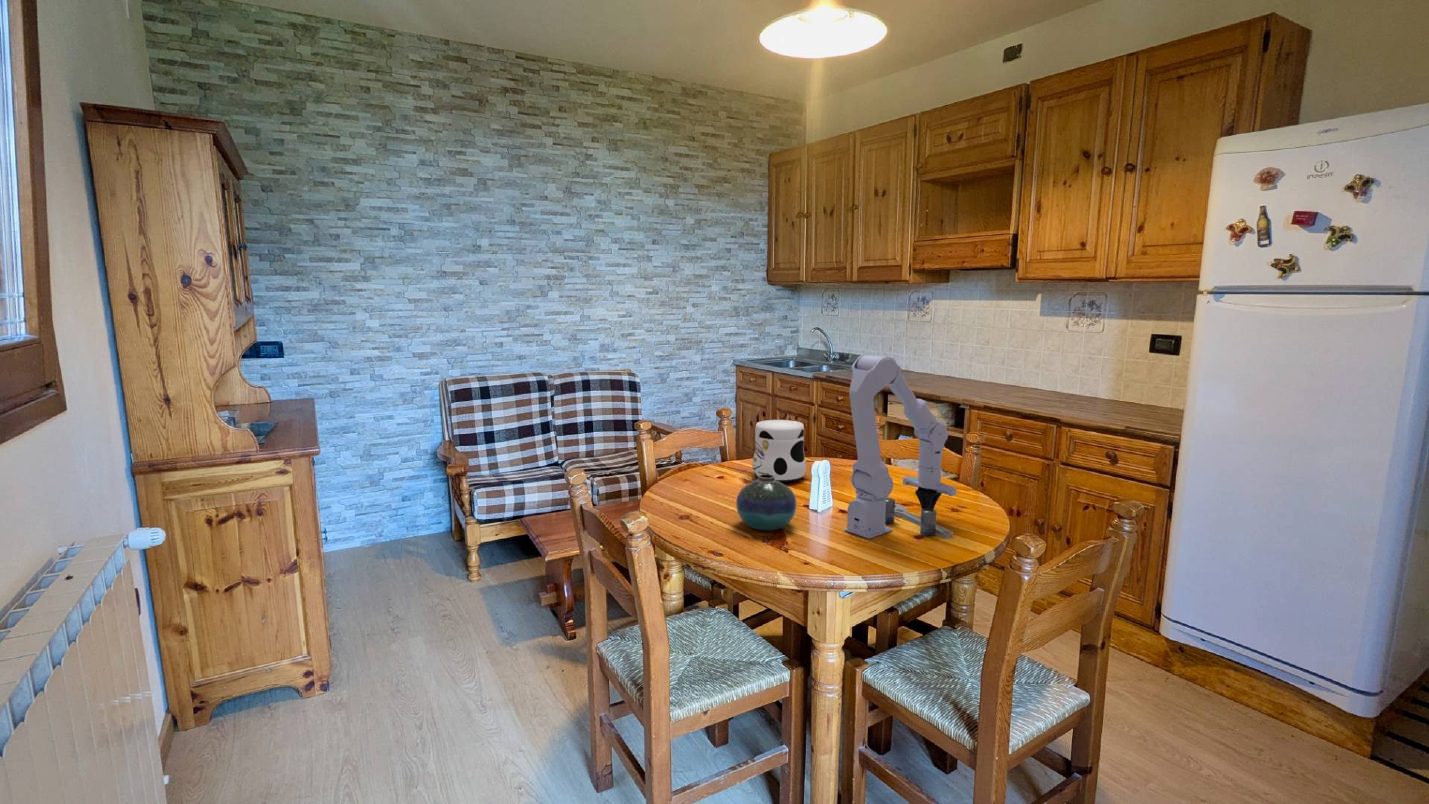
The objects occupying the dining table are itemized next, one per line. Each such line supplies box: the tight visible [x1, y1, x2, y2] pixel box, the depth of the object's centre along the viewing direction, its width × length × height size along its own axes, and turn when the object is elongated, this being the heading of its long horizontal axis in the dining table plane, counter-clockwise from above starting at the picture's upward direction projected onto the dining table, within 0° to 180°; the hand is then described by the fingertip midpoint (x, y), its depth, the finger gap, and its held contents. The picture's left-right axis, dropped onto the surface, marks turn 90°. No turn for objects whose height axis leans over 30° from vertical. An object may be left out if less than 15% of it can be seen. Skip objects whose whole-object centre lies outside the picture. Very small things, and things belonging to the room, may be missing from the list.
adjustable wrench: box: [894, 503, 954, 539], centre depth 174 cm, size 25×6×2 cm, turn 18°
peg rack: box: [885, 497, 937, 538], centre depth 170 cm, size 4×16×6 cm, turn 40°
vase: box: [735, 474, 798, 532], centre depth 170 cm, size 15×15×13 cm
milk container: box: [751, 419, 807, 483], centre depth 215 cm, size 17×17×18 cm
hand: (927, 516), depth 176 cm, fingers closed
